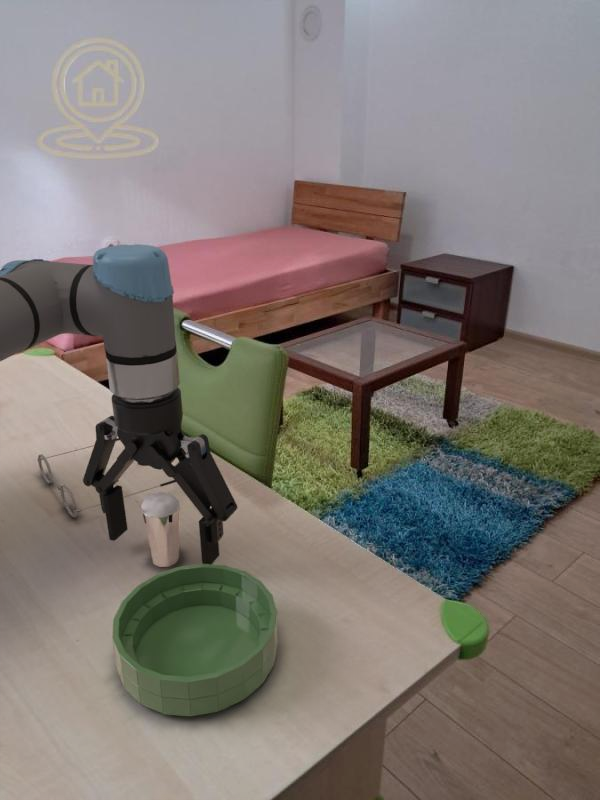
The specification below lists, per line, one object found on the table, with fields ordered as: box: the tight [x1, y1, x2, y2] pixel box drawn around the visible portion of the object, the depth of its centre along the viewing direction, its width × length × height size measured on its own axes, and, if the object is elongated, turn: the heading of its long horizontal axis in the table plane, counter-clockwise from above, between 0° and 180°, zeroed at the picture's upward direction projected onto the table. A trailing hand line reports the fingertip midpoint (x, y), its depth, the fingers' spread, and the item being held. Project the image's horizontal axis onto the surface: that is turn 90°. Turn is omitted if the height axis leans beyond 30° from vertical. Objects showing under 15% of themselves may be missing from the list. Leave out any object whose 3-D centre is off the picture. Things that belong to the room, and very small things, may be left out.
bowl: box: [111, 563, 278, 717], centre depth 65 cm, size 16×16×5 cm
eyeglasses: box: [36, 437, 177, 518], centre depth 97 cm, size 18×19×4 cm
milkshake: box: [134, 491, 181, 568], centre depth 77 cm, size 4×5×10 cm
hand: (163, 547), depth 78 cm, fingers open, 13 cm apart
